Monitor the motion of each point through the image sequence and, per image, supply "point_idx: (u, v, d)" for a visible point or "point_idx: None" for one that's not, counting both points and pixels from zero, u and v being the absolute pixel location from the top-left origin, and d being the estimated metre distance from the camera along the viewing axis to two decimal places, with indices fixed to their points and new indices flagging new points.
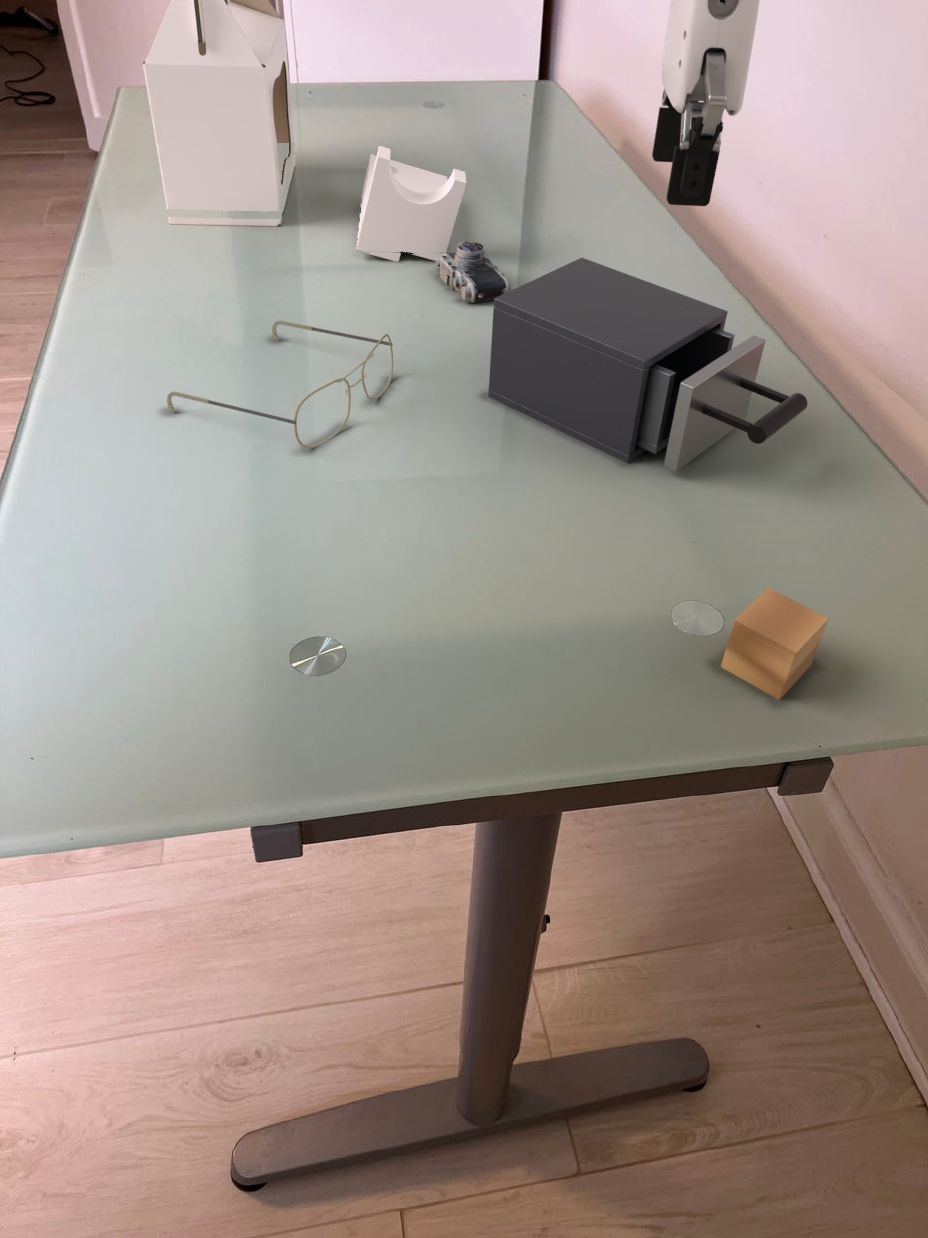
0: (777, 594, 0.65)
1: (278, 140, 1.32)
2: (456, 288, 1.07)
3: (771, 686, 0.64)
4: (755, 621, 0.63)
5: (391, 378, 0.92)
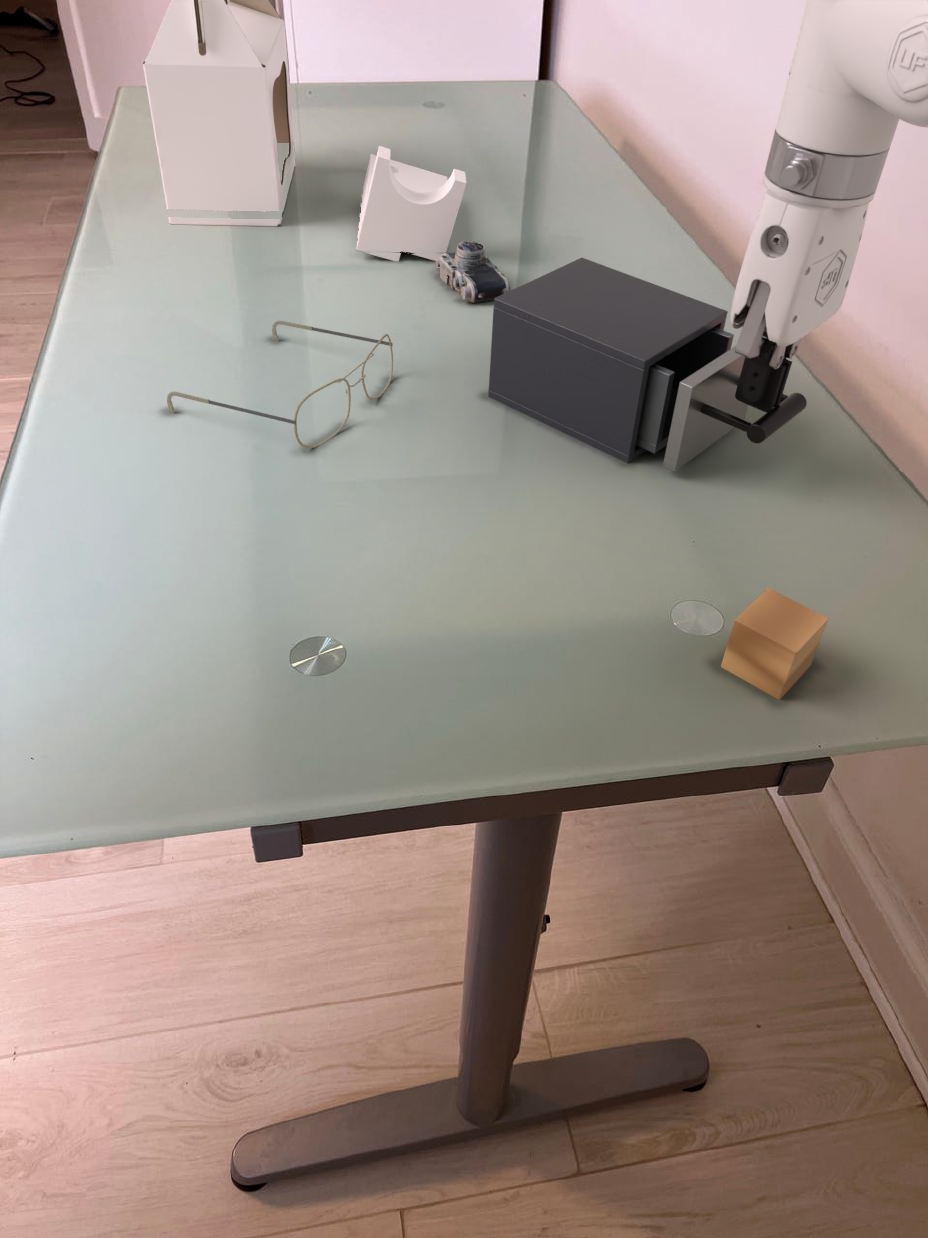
0: (777, 594, 0.65)
1: (278, 140, 1.32)
2: (456, 288, 1.07)
3: (771, 686, 0.64)
4: (755, 621, 0.63)
5: (391, 378, 0.92)
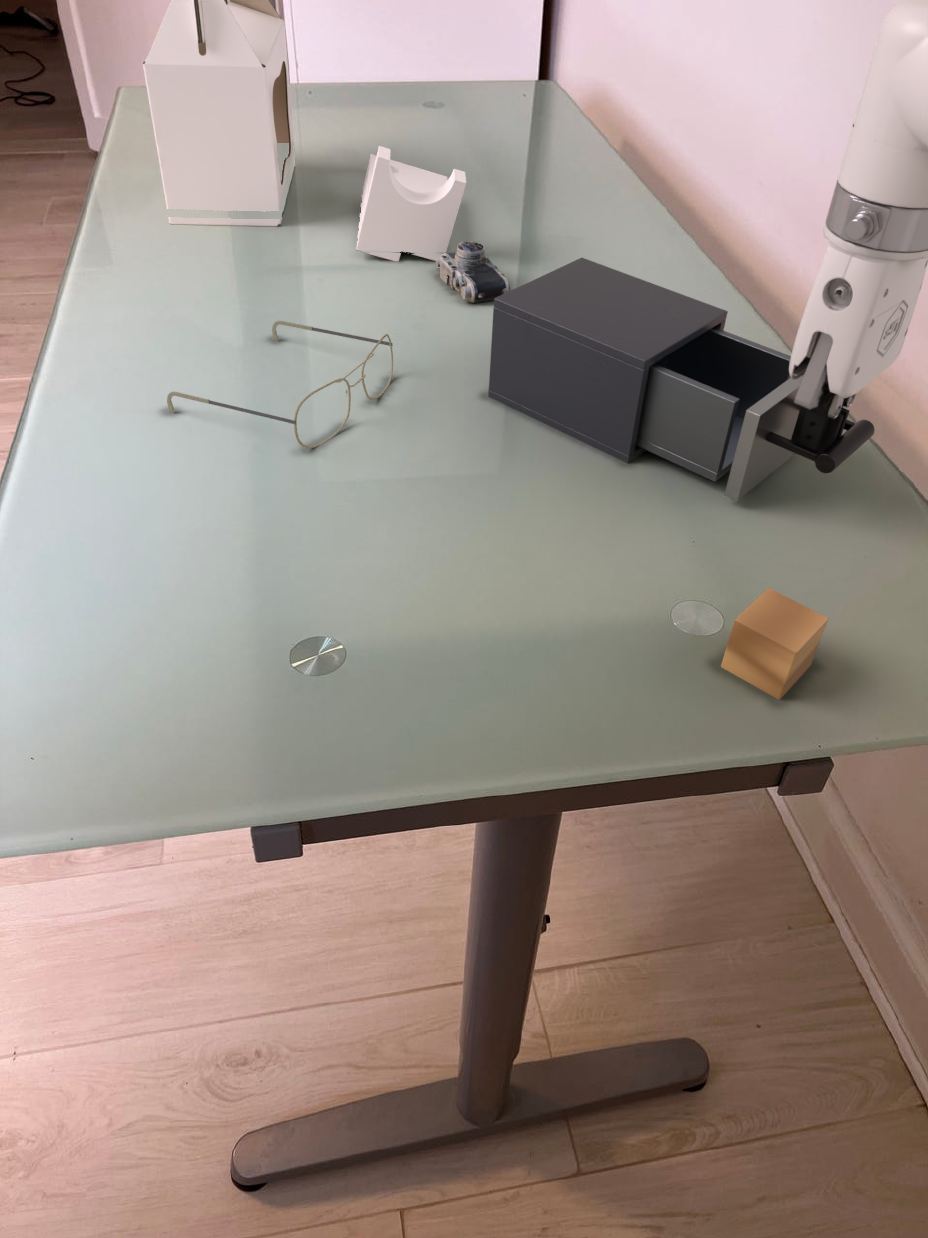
0: (777, 594, 0.65)
1: (278, 140, 1.32)
2: (456, 288, 1.07)
3: (771, 686, 0.64)
4: (755, 621, 0.63)
5: (391, 378, 0.92)
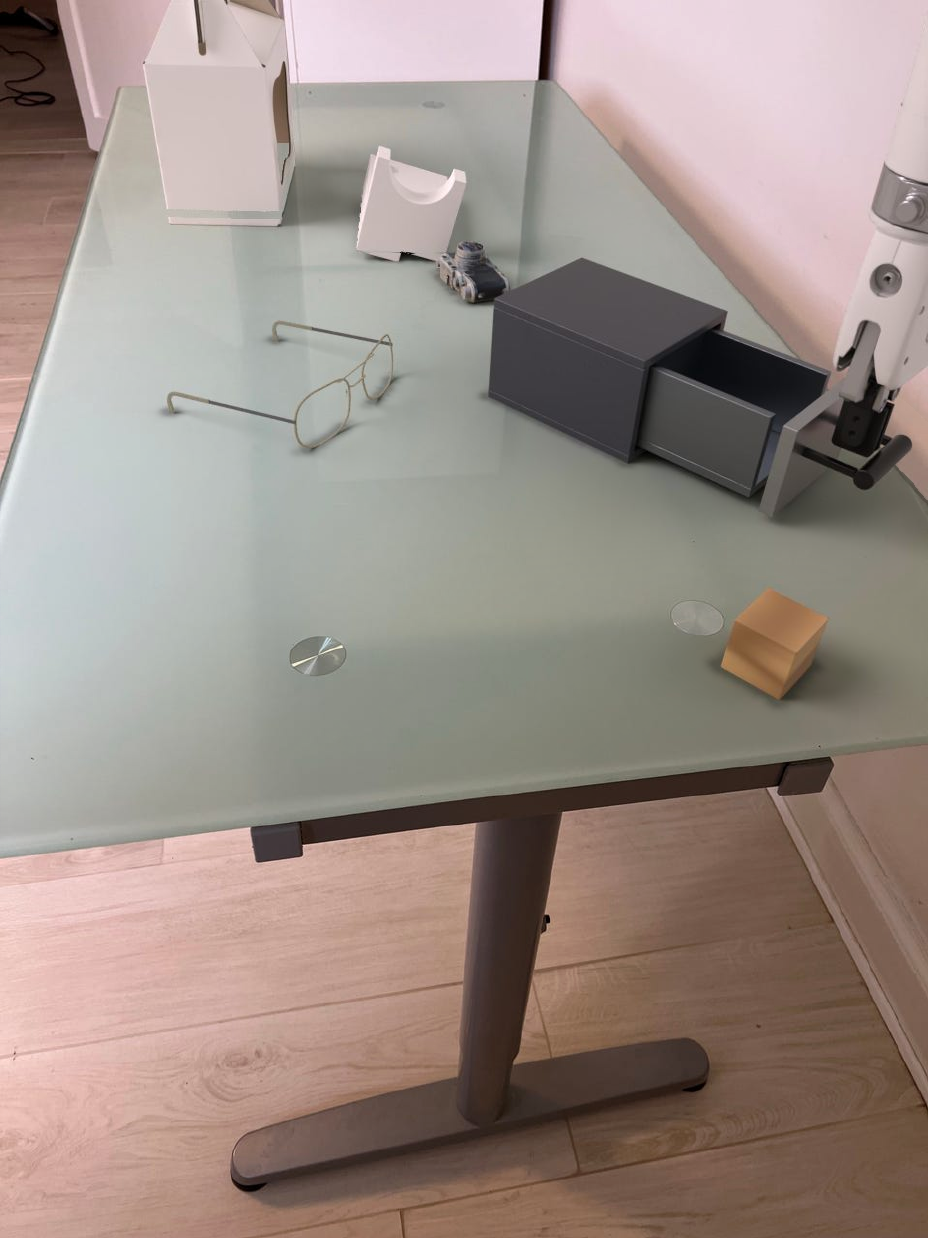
0: (777, 594, 0.65)
1: (278, 140, 1.32)
2: (456, 288, 1.07)
3: (771, 686, 0.64)
4: (755, 621, 0.63)
5: (391, 378, 0.92)
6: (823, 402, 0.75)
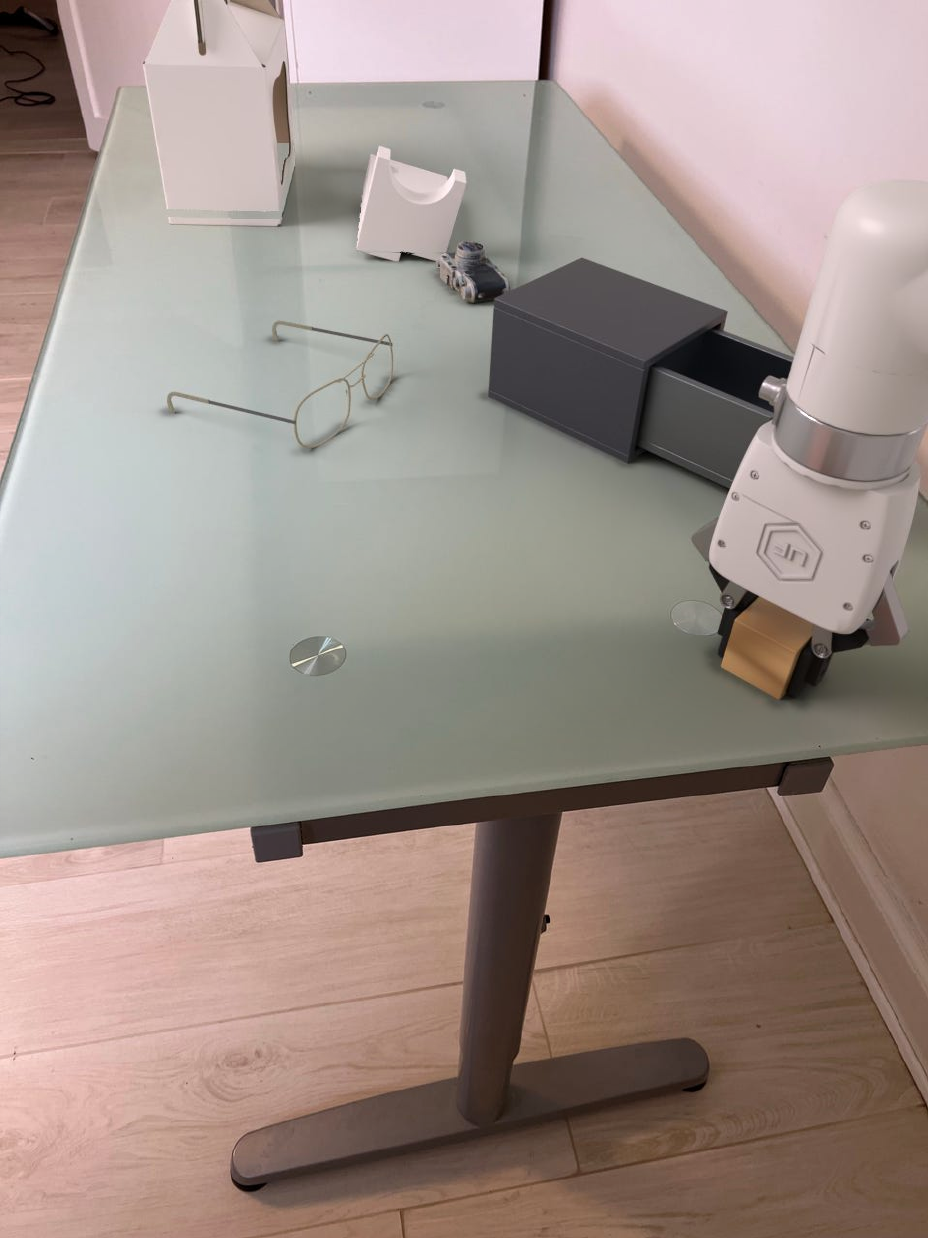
0: None
1: (278, 140, 1.32)
2: (456, 288, 1.07)
3: (771, 686, 0.64)
4: (755, 621, 0.63)
5: (391, 378, 0.92)
6: None
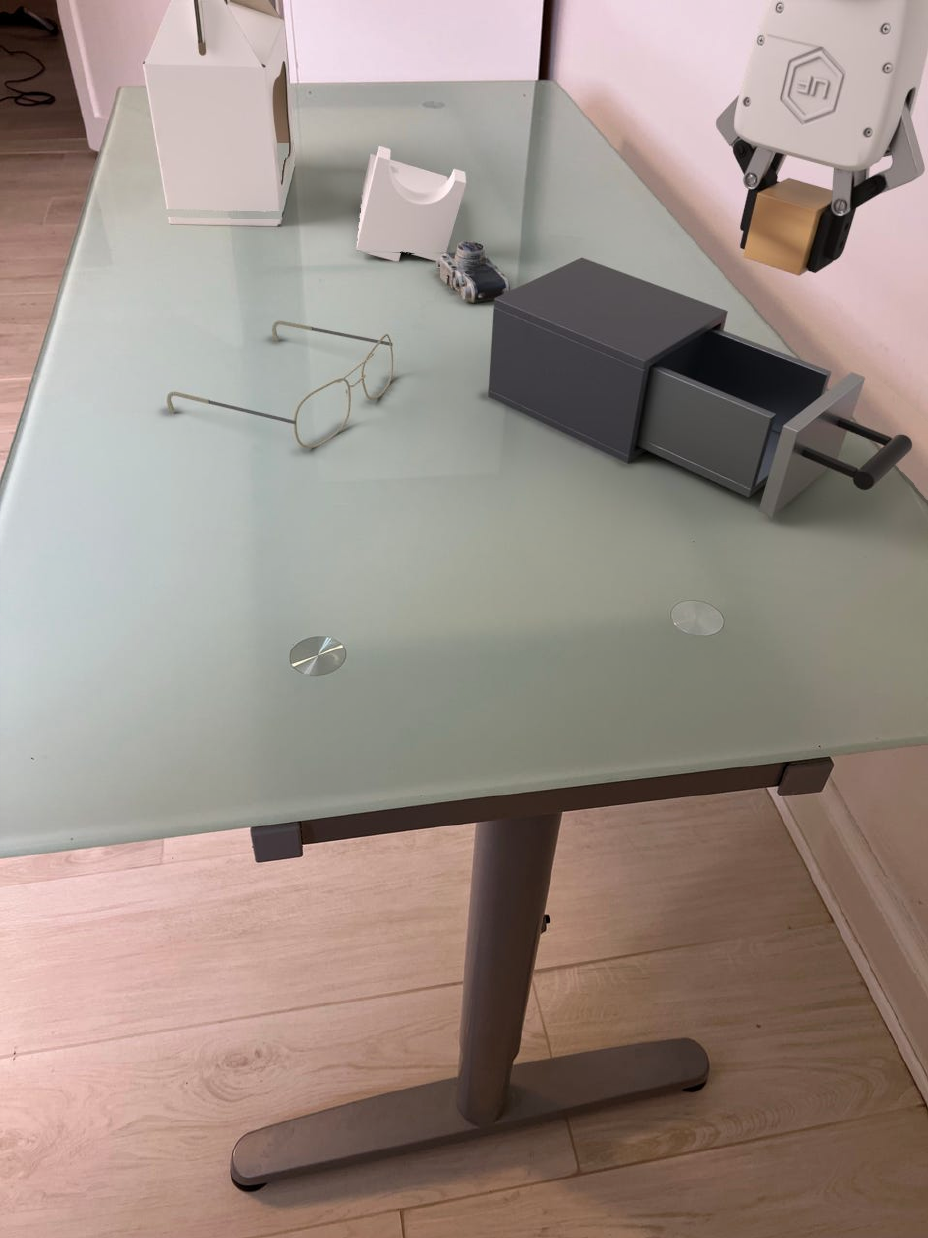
0: (797, 181, 0.68)
1: (278, 140, 1.32)
2: (456, 288, 1.07)
3: (792, 260, 0.67)
4: (777, 193, 0.66)
5: (391, 378, 0.92)
6: (823, 402, 0.75)
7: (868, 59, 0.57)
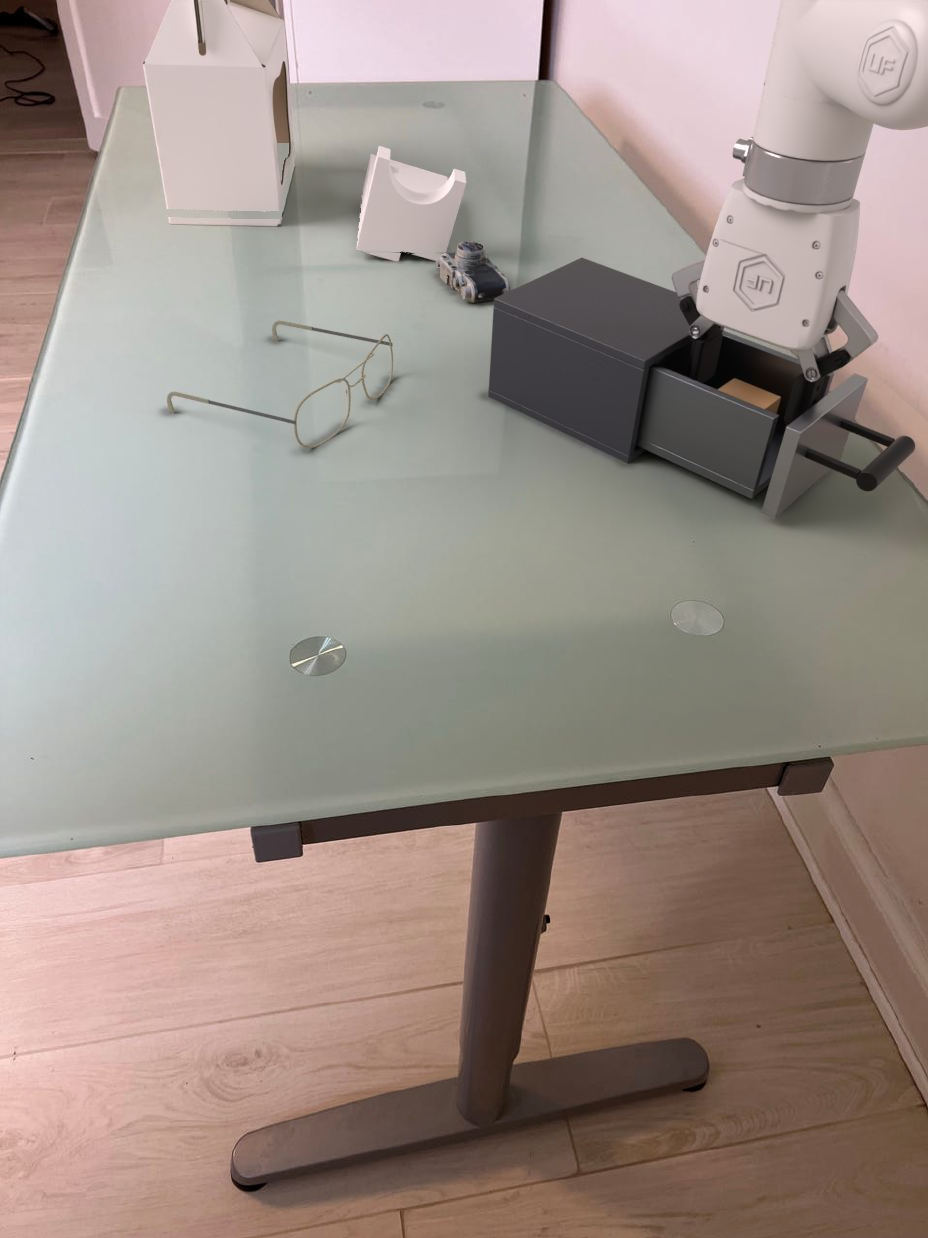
0: (741, 382, 0.82)
1: (278, 140, 1.32)
2: (456, 288, 1.07)
3: None
4: None
5: (391, 378, 0.92)
6: (826, 403, 0.75)
7: (803, 267, 0.69)
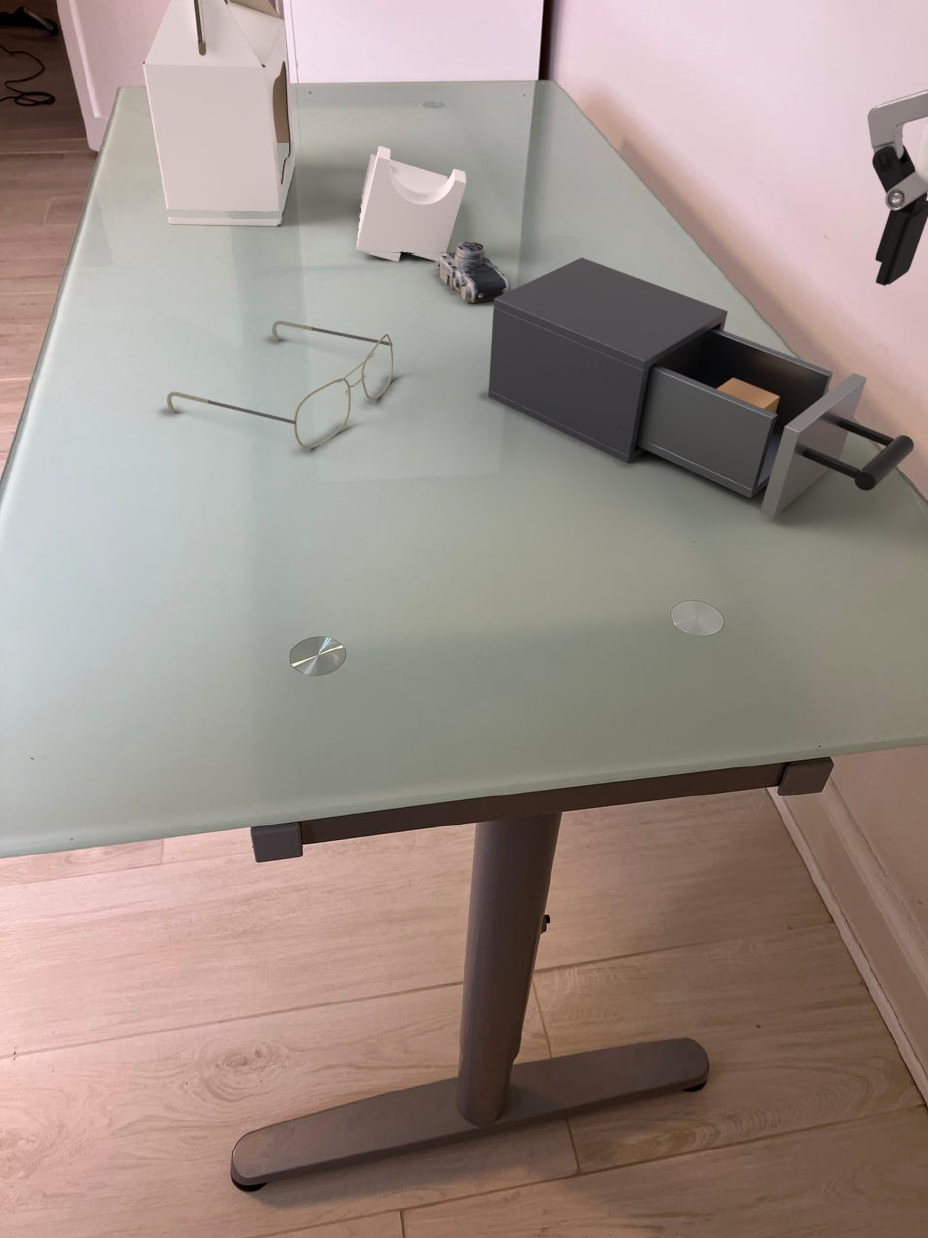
0: (740, 381, 0.82)
1: (278, 140, 1.32)
2: (456, 288, 1.07)
3: None
4: None
5: (391, 378, 0.92)
6: (825, 403, 0.75)
7: None
